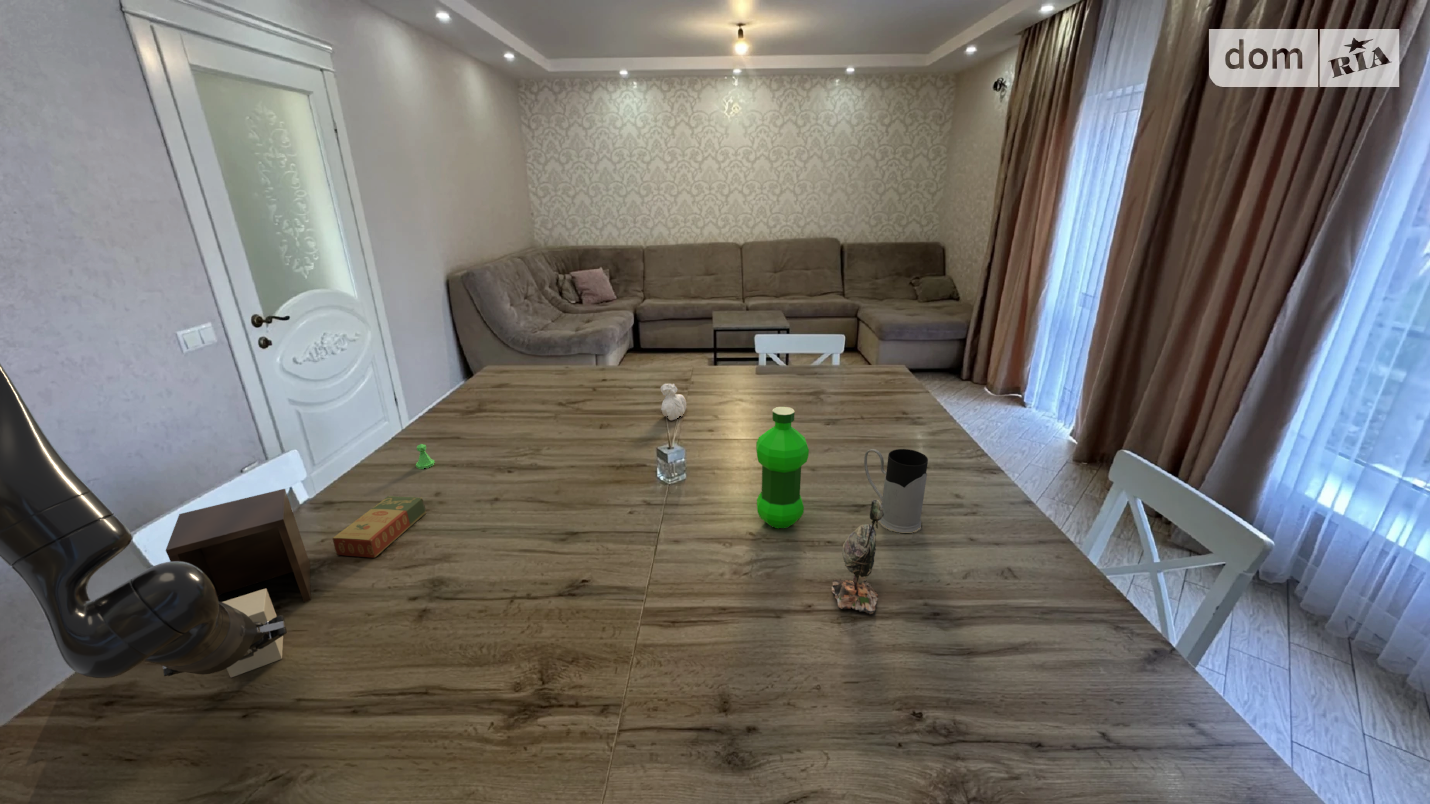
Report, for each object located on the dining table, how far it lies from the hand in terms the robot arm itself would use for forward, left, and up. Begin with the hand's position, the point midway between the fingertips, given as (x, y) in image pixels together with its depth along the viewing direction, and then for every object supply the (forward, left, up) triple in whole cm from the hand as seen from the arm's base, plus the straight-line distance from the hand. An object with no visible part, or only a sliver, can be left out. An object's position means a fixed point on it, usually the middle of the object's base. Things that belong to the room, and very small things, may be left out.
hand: (246, 650), depth 79 cm
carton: (+19, +29, -4) cm, 35 cm away
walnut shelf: (0, +19, -4) cm, 20 cm away
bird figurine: (+83, -39, -4) cm, 92 cm away
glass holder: (+107, -27, -4) cm, 111 cm away
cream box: (0, +4, -4) cm, 5 cm away
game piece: (+31, +57, -4) cm, 65 cm away
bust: (+99, +48, -4) cm, 110 cm away
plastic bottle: (+87, -15, -4) cm, 89 cm away
